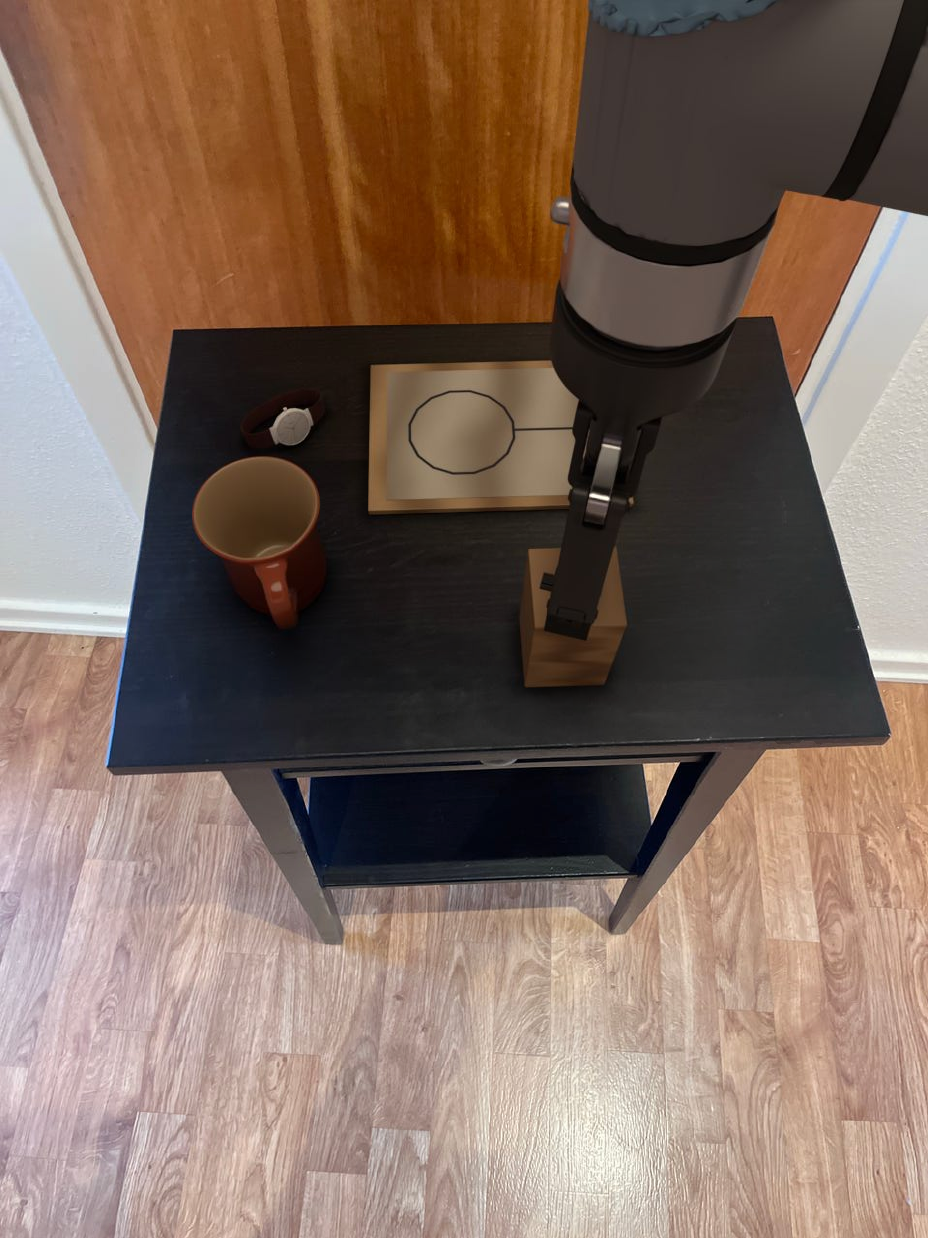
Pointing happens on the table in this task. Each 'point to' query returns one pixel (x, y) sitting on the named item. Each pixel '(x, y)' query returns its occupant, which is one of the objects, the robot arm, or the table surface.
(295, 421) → the watch
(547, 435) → the sketch pad
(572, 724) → the table surface
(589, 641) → the wooden block
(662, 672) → the table surface
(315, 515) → the mug
